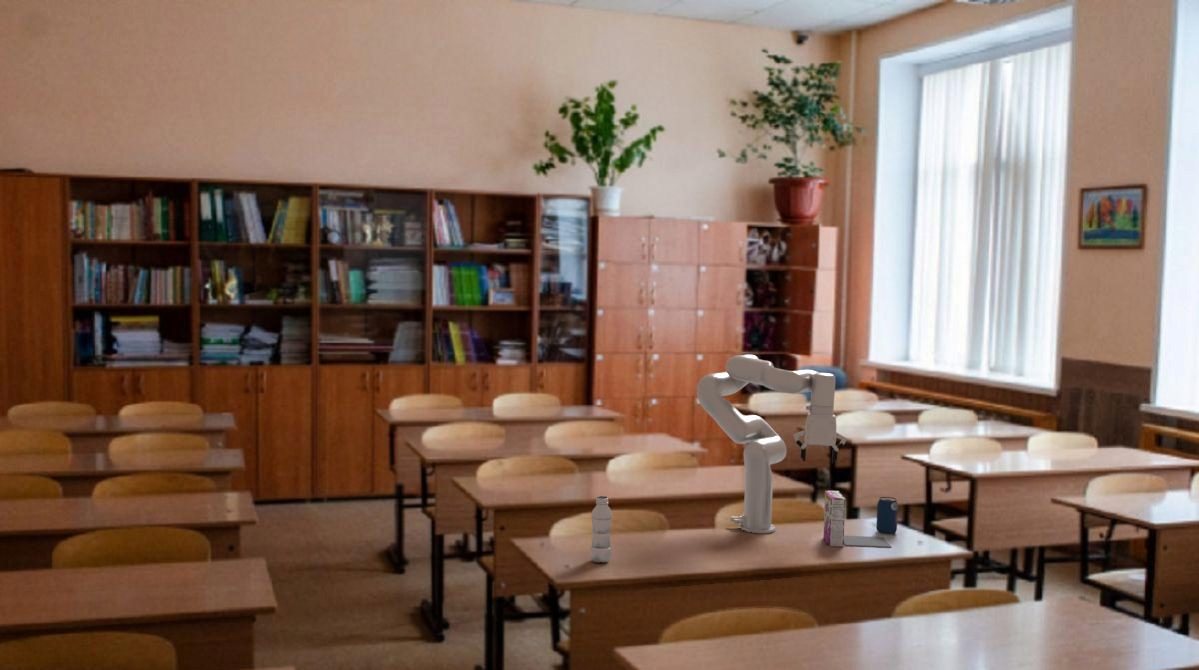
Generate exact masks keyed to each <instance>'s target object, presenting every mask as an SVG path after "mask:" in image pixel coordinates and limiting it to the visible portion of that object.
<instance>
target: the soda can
mask: <svg viewBox="0 0 1199 670" xmlns="http://www.w3.org/2000/svg"><path fill="white" fill-rule="evenodd" d="M898 513H899V503H898V501H897V498H895V497H890V496H880V497H879V500H877V506H876V526H875V527H876V528H875V529H876V531H877V532H878V534H881V535H887V536H888V535H889V536H890V535H893V536H894V535H895V533H897V530H898Z"/></svg>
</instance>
